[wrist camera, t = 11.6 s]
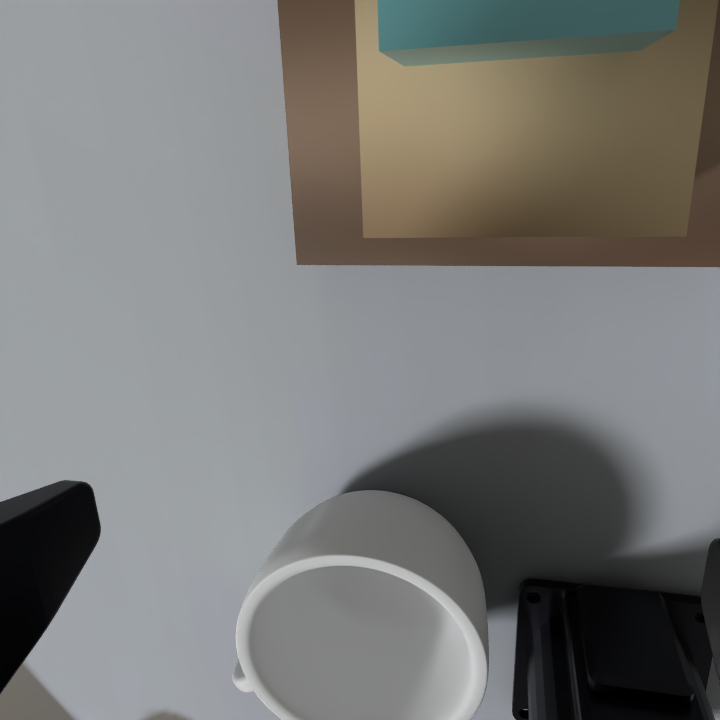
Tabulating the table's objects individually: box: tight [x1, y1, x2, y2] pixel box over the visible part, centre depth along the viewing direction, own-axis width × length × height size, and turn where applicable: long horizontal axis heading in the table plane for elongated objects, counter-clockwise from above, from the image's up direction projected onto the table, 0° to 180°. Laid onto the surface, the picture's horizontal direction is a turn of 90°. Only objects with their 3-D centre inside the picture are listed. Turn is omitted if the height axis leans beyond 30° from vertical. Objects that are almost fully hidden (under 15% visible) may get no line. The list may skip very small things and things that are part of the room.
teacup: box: [232, 490, 489, 720], centre depth 22 cm, size 10×8×5 cm
